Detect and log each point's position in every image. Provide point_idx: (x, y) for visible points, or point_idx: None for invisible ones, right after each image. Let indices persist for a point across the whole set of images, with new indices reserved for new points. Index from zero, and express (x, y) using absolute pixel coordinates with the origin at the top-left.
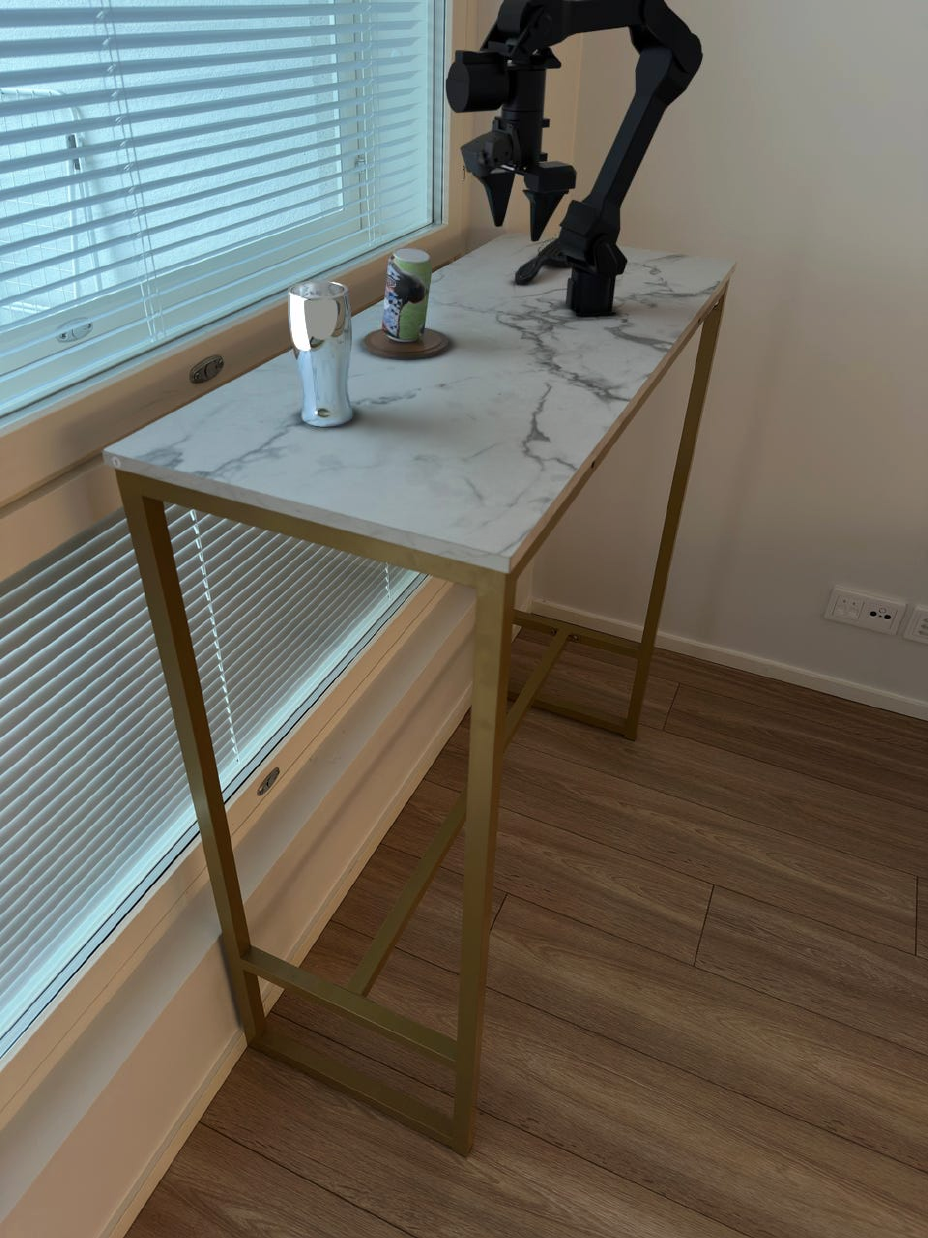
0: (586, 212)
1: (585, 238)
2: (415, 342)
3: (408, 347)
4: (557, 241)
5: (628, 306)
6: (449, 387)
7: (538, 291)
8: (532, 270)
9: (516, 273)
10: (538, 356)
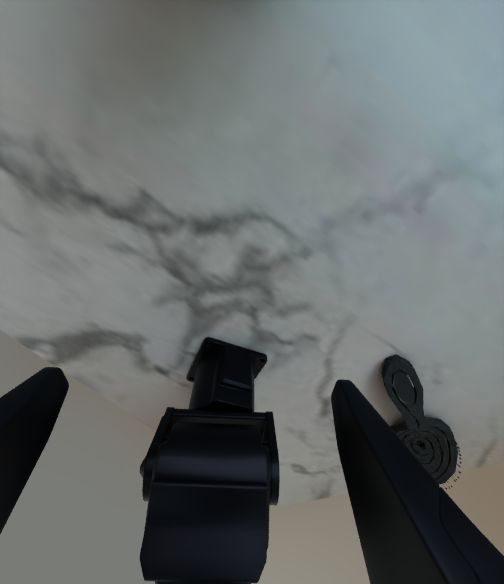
0: (180, 551)
1: (161, 473)
2: None
3: None
4: (444, 462)
5: None
6: None
7: (343, 359)
8: (395, 391)
9: (413, 371)
10: (21, 151)
